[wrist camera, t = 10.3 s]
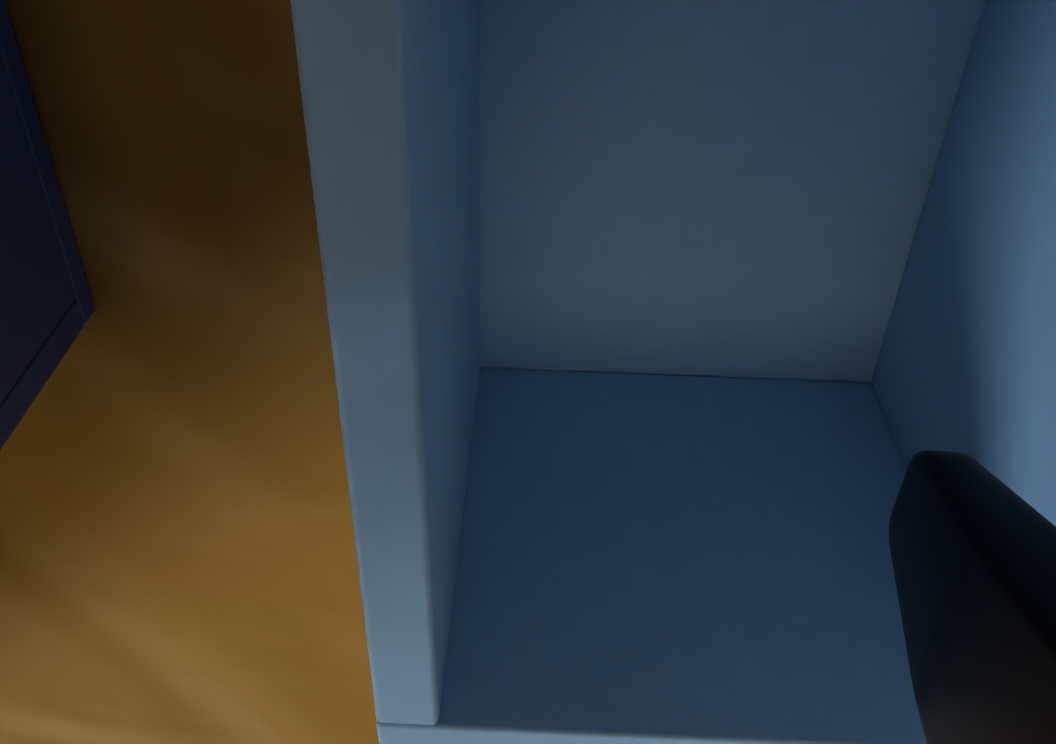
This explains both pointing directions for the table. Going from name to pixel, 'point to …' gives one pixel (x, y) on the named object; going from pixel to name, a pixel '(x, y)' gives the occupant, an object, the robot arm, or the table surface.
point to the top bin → (671, 344)
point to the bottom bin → (31, 249)
